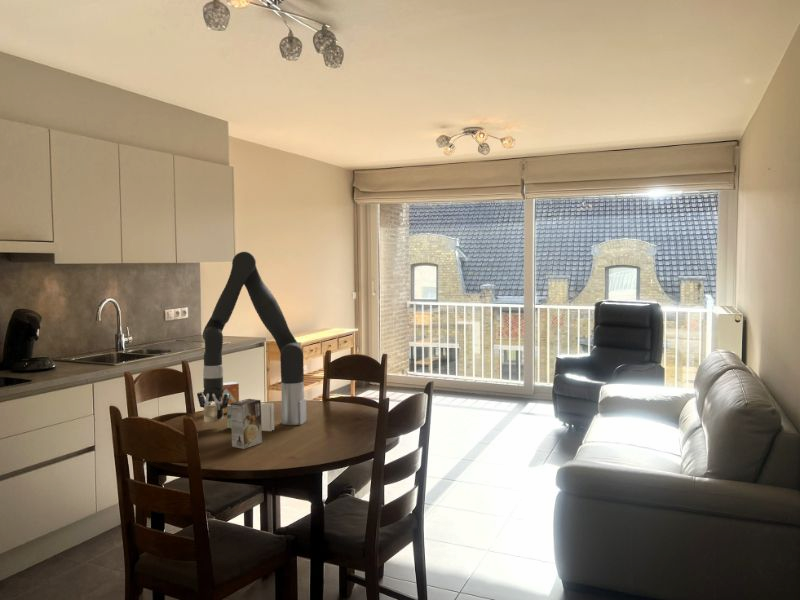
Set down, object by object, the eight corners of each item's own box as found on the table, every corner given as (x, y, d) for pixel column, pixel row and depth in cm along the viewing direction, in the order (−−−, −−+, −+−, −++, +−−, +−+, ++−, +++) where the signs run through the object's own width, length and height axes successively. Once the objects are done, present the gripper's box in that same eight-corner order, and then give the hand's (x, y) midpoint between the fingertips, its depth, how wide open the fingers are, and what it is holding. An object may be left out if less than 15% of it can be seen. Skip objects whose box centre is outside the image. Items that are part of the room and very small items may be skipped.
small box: (221, 414, 274) (221, 385, 274) (217, 411, 280) (216, 383, 279) (239, 411, 279) (239, 383, 278) (235, 409, 284) (234, 381, 284)
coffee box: (250, 440, 230) (248, 398, 229) (262, 443, 226) (261, 399, 226) (231, 446, 222) (230, 402, 221) (244, 449, 218) (242, 404, 218)
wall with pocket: (274, 429, 246) (273, 403, 245) (271, 431, 243) (270, 404, 243) (253, 428, 248) (253, 402, 248) (250, 430, 245) (249, 403, 245)
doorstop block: (223, 418, 250) (223, 404, 250) (214, 422, 243) (213, 407, 243) (213, 418, 251) (213, 403, 251) (204, 422, 245) (203, 407, 244)
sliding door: (253, 428, 247) (252, 406, 247) (251, 429, 245) (250, 407, 245) (228, 427, 250) (228, 405, 249) (226, 428, 248) (225, 405, 248)
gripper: (234, 375, 249) (234, 417, 249) (202, 373, 252) (203, 415, 253) (224, 378, 241) (224, 421, 242) (192, 376, 245) (192, 419, 246)
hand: (213, 418), depth 247 cm, fingers closed on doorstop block, 4 cm apart
